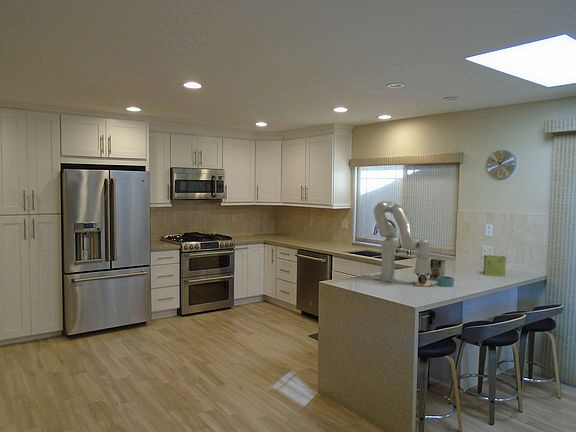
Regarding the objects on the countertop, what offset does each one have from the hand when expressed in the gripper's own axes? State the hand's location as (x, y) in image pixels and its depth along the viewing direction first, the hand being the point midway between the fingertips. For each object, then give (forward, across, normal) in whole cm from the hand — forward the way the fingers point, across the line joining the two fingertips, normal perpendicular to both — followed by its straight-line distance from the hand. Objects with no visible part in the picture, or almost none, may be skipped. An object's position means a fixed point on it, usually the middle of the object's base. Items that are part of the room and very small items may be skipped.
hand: (422, 281), depth 315 cm
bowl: (+2, +16, 0) cm, 16 cm away
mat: (+2, 0, 0) cm, 2 cm away
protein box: (+2, +69, +51) cm, 86 cm away
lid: (+2, 0, 0) cm, 2 cm away
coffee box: (+3, +15, +19) cm, 24 cm away
